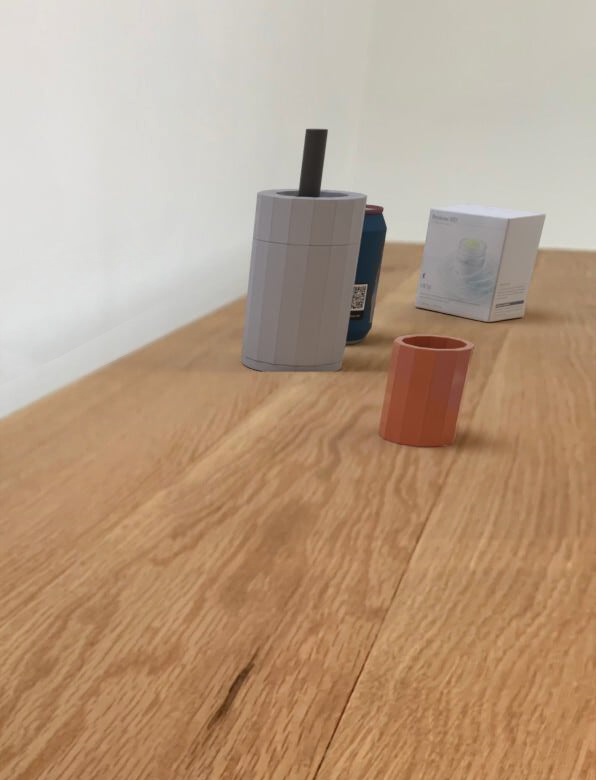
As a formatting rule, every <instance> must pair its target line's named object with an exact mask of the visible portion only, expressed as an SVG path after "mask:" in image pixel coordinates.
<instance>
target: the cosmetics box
mask: <svg viewBox="0 0 596 780" xmlns="http://www.w3.org/2000/svg"><path fill="white" fill-rule="evenodd" d="M546 216H547V214H546V213H544V212H538V211H529V210H522V209H514V208H505V207H499V206H489V205H481V204H474V203H462V204H461V203H460V204H454V205H447V206H446V205H445V206H438V207H430V210H429V217H428V223H427V228H426V235H425V240H424V247H423V253H422V257H421V258H422V259H421V264H420V269H419V276H418V283H417V287H416V295H415V298H414V299H415V300H414V307H415V308H420V309H424V310H428V311H434V312H438V313H443V314H446V315H452V316H456V317H461V318H465V319H468V320H469V319H470V320H474V321H479V322H485V323H493V322H498V321H505V320H511V319H520V318H524V316H525V311H526V305H527V301H528V296H529V293H530V286H531V283H532V277H533V273H534V268H535V264H536V261H537V255H538V251H539V246H540V243H541V237H542V233H543V228H544V225H545V221H546Z"/></svg>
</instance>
